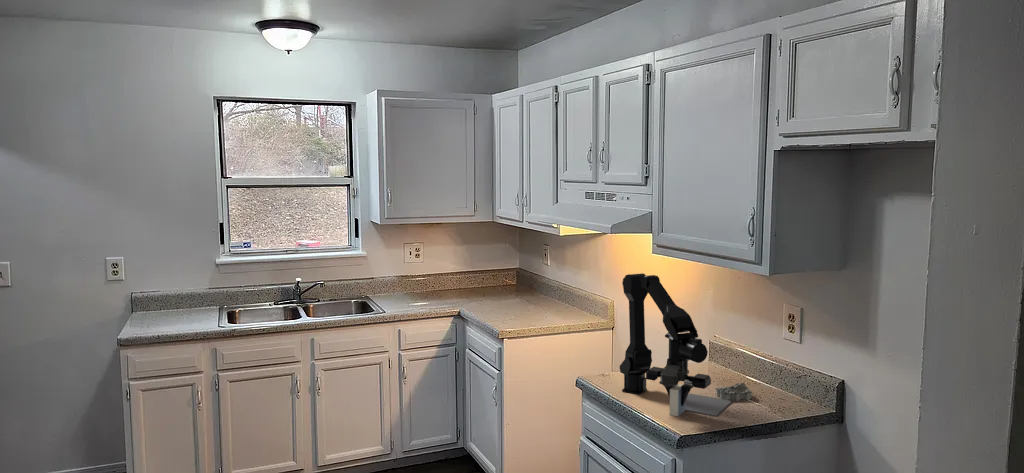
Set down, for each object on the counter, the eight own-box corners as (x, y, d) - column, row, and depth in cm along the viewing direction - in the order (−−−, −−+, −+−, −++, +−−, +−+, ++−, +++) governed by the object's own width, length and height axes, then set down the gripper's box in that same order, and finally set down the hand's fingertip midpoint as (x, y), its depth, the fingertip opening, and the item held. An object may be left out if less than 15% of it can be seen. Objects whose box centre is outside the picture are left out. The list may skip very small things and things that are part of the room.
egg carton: (745, 394, 235) (745, 382, 235) (754, 401, 228) (754, 389, 227) (713, 394, 235) (713, 382, 234) (721, 402, 227) (721, 389, 227)
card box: (669, 414, 215) (669, 389, 214) (676, 409, 220) (677, 384, 219) (678, 416, 214) (678, 390, 213) (685, 410, 219) (685, 385, 218)
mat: (671, 408, 221) (671, 407, 221) (689, 394, 234) (689, 393, 234) (716, 416, 213) (716, 415, 213) (732, 401, 226) (732, 400, 226)
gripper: (638, 356, 214) (638, 406, 215) (699, 365, 203) (698, 418, 205) (653, 348, 223) (652, 396, 224) (711, 356, 212) (710, 407, 214)
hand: (677, 404), depth 217 cm, fingers closed on card box, 3 cm apart
